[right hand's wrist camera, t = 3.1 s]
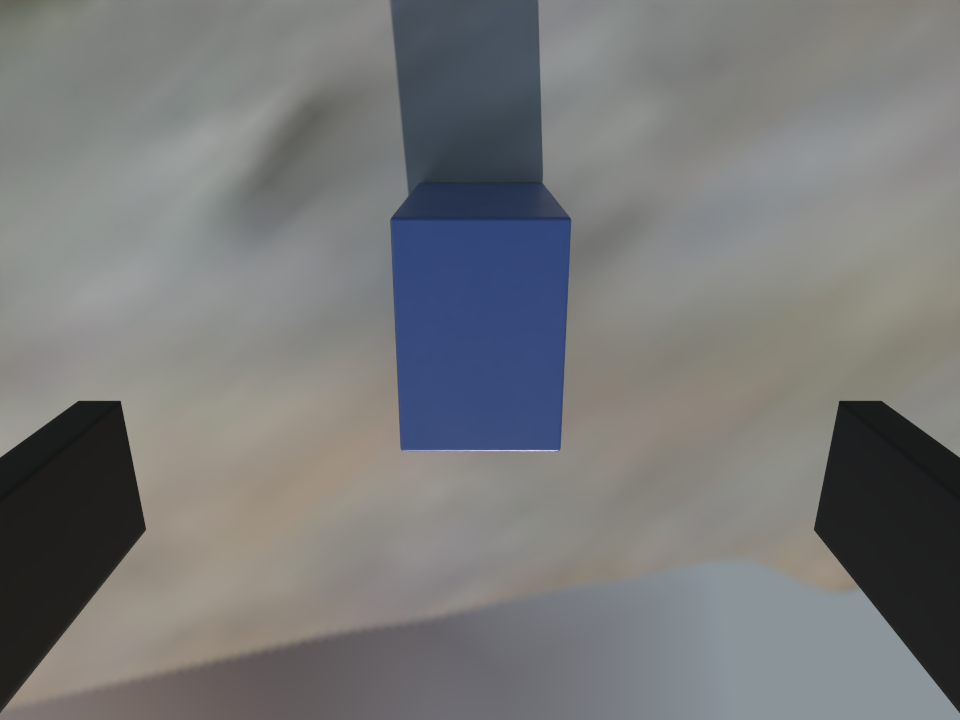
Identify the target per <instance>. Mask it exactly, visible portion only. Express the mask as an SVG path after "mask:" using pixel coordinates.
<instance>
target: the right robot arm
mask: <svg viewBox="0 0 960 720" xmlns="http://www.w3.org/2000/svg"><path fill="white" fill-rule="evenodd" d="M145 530H146V527H145V522H144V517H143V512H142V507H141V502H140V497H139V491H138V486H137V481H136V476H135V471H134V466H133V461H132V456H131V451H130V446H129V441H128V436H127V431H126V426H125V421H124V416H123V411H122V406H121V401H78V402H76V403H75V404H74V405H72V406H71V407H70V408H68V409H67V410H65V411H64V412H63V413H61V414H60V415H58V416H57V417H56V418H54V419H53V420H52V421H50V422H49V423H47V424H46V425H45V426H43V427H42V428H41V429H39V430H38V431H36V432H35V433H34V434H32V435H31V436H29V437H28V438H27V439H25V440H24V441H23V442H21V443H20V444H18V445H17V446H16V447H14V448H13V449H12V450H10V451H9V452H7V453H6V454H5V455H3V456H2V457H1V458H0V713H1V711H2V710H3V709H4V708H5V706H6V705H7V704H8V703H9V701H10V700H11V699H12V698H13V696H14V695H15V694H16V693H17V691H18V690H19V689H20V687H21V686H22V685H23V684H24V682H25V681H26V680H27V679H28V677H29V676H30V675H31V674H32V672H33V671H34V670H35V669H36V667H37V666H38V665H39V664H40V662H41V661H42V660H43V659H44V657H45V656H46V655H47V654H48V652H49V651H50V650H51V649H52V647H53V646H54V645H55V644H56V642H57V641H58V640H59V638H60V637H61V636H62V635H63V633H64V632H65V631H66V630H67V628H68V627H69V626H70V625H71V623H72V622H73V621H74V620H75V618H76V617H77V616H78V615H79V613H80V612H81V611H82V610H83V608H84V607H85V606H86V605H87V603H88V602H89V601H90V600H91V598H92V597H93V596H94V595H95V593H96V592H97V591H98V589H99V588H100V587H101V586H102V584H103V583H104V582H105V581H106V579H107V578H108V577H109V576H110V574H111V573H112V572H113V571H114V569H115V568H116V567H117V566H118V564H119V563H120V562H121V561H122V559H123V558H124V557H125V556H126V554H127V553H128V552H129V551H130V549H131V548H132V547H133V546H134V544H135V543H136V542H137V540H138V539H139V538H140V537H141V535H142V534H143V533H144V532H145ZM814 530H815V532H816V533H817V534H818V535H819V537H820V538H821V539H822V540H823V542H824V543H825V544H826V546H827V547H828V548H829V549H830V551H831V552H832V553H833V554H834V556H835V557H836V558H837V559H838V561H839V562H840V563H841V564H842V566H843V567H844V568H845V569H846V571H847V572H848V573H849V574H850V576H851V577H852V578H853V579H854V581H855V582H856V583H857V584H858V586H859V587H860V588H861V589H862V591H863V592H864V593H865V595H866V596H867V597H868V598H869V600H870V601H871V602H872V603H873V605H874V606H875V607H876V608H877V610H878V611H879V612H880V613H881V615H882V616H883V617H884V618H885V620H886V621H887V622H888V623H889V625H890V626H891V627H892V628H893V630H894V631H895V632H896V633H897V635H898V636H899V637H900V638H901V640H902V641H903V642H904V644H905V645H906V646H907V647H908V649H909V650H910V651H911V652H912V654H913V655H914V656H915V657H916V658H917V660H918V661H919V662H920V664H921V665H922V666H923V667H924V669H925V670H926V671H927V672H928V674H929V675H930V676H931V677H932V679H933V680H934V681H935V682H936V684H937V685H938V686H939V687H940V689H941V690H942V691H943V693H944V694H945V695H946V696H947V697H948V699H949V700H950V701H951V703H952V704H953V705H954V706H955V708H956V709H957V710H958V711H959V713H960V458H959V457H958V456H957V455H955V454H954V453H953V452H951V451H950V450H948V449H947V448H946V447H944V446H943V445H942V444H940V443H939V442H937V441H936V440H935V439H933V438H932V437H931V436H929V435H928V434H926V433H925V432H924V431H922V430H921V429H919V428H918V427H917V426H915V425H914V424H913V423H911V422H910V421H908V420H907V419H906V418H904V417H903V416H902V415H900V414H899V413H897V412H896V411H895V410H893V409H892V408H890V407H889V406H888V405H886V404H885V403H884V402H882V401H839V406H838V411H837V416H836V421H835V426H834V431H833V436H832V441H831V446H830V451H829V456H828V461H827V466H826V471H825V476H824V481H823V486H822V491H821V497H820V502H819V507H818V512H817V517H816V522H815V527H814Z"/></svg>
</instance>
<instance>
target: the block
mask: <svg viewBox="0 0 960 720" xmlns="http://www.w3.org/2000/svg"><path fill="white" fill-rule="evenodd" d="M390 223H391V245H392V267H393V289H394V311H395V333H396V356H397V378H398V400H399V422H400V444H401V450H402V451H559V450H560V448H561V426H562V405H563V384H564V362H565V341H566V320H567V298H568V277H569V255H570V234H571V219H570V217H569V216H568V215H567V213H566V212H565V211H564V210H563V208H562V207H561V206H560V205H559V203H558V202H557V201H556V200H555V198H554V197H553V196H552V195H551V193H550V192H549V191H548V190H547V188H546V187H545V186H544V185H543V184H542V183H419V184H418V185H417V187H416V188H415V189H414V190H413V192H412V193H411V194H410V195H409V197H408V198H407V199H406V200H405V201H404V203H403V204H402V205H401V206H400V208H399V209H398V210H397V211H396V213H395V214H394V215H393V216H392V218H391V220H390Z"/></svg>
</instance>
